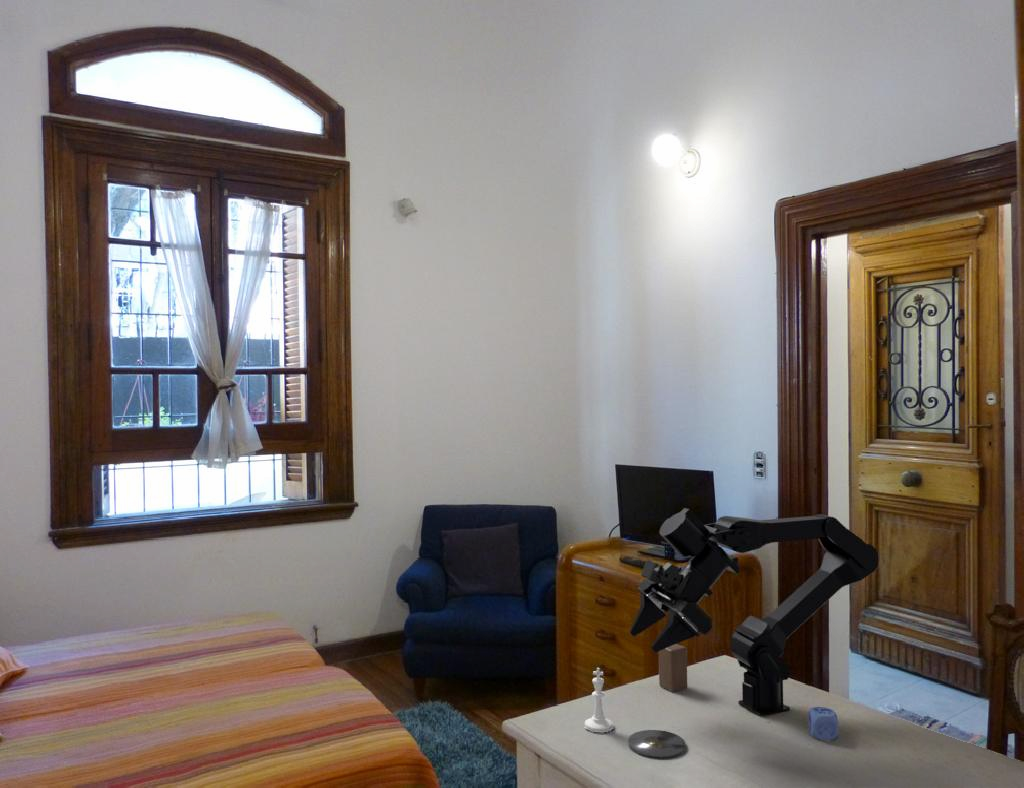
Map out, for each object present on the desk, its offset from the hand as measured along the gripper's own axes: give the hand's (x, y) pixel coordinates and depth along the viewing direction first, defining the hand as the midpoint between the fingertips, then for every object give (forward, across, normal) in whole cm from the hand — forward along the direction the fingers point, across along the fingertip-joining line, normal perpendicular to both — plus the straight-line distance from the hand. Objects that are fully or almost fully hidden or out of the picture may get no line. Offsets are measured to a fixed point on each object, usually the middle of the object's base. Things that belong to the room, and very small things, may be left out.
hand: (642, 642), depth 132 cm
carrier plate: (+11, +9, +9) cm, 17 cm away
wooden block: (+1, -13, +18) cm, 23 cm away
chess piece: (+16, 0, +4) cm, 16 cm away
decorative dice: (-9, +13, +28) cm, 32 cm away
